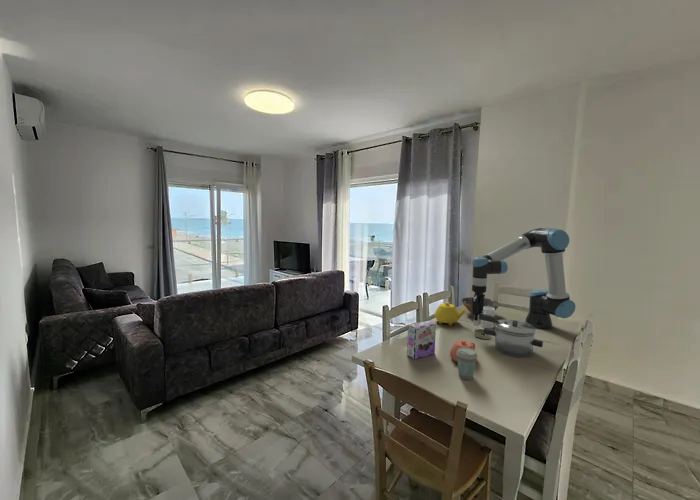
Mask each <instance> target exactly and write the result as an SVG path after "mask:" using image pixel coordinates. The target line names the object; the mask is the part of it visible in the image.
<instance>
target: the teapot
mask: <svg viewBox="0 0 700 500" xmlns="http://www.w3.org/2000/svg"><path fill="white" fill-rule="evenodd" d="M465 313H467V309H464V308H462V310H461V311H460V312H459V311H458V309H457V307H456V306H455V304H452V303H450V302H448V301H445V302H444V303H440V304H439V305H438V306H437V308H436V310H435V312H434V318H435V319H436V320H437V323H438V324H439V325H440V324H441V325H443V323H444V324H448V326H450V327H452V326H453V324H454V323H457V322H458V321H459V319H460V318H461V317H463V315H465Z"/></svg>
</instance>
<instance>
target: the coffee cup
mask: <svg viewBox="0 0 700 500" xmlns="http://www.w3.org/2000/svg"><path fill="white" fill-rule="evenodd" d="M456 354H457V359H458V362H457V369H458V370H457V371H458V377H459V378H461V379H462V380H463V381H464V380H465V381H471V380H473V378H474V372H475V369H476V362H477V359H478V354H477V351H476V349H475V350H473V349H471V348H466V347H462V348H459V349H458V351H457V353H456Z"/></svg>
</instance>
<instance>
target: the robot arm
mask: <svg viewBox="0 0 700 500" xmlns="http://www.w3.org/2000/svg"><path fill="white" fill-rule="evenodd" d="M569 244H570V236H569V233H567V232H566V231H565V230H564V229H560V228H559V229H558V228H545V227H544V228H542V227H539V228H534V229H531V230H529V231H527V232H524V233H523V234H521V235H519V236H517V238H516V239H515V240H512V241H510V242H509V243H506V244H505V245H502V246H501V247H498V248H497V249H495V250H493V251H491V252H489V253H487V254H485V255H482V256H475V257H474V258H473V259H472V260H471V261H472V262H471V263H472V264H471V265H472V277H471V280H472V281H471V282H472V283H471V284H472V285H471V292H473V293H474V294H473V297H474V298H472V302H473V307H472V314H474V318H473V326H476V327H480V325H481V320H480V319H479V313H481V314H482V313H483V312H482V311H483V307H484V298H485V297H486V295H485V294H484V293H486V292H487V283H488V275H501V274H506V273H507V272H508V267H509V265H508V263H507V262H506V261H505V260H506V259H508V258H509V257H511V256H512V257H513V255H516V254H517V253H520V252H521V251H524V250H529V249H532V248H540V249H541V250H540V251H541V254H543V255H544V259H545V260H544V261H545V269H546V279H547V286H548V287H547V288H548V290H544V289H543V290H542V289H536V290H535V289H534V290H532V291H530V295H529V304H528V305H529V309H528V310H529V311H528V313H527V316H526V318H525V321H524V322H526V323H528V324H531V325H533V326H534V327H535V328H536V329H541V330H549V329H553V321H552V318H551V316H555V317H557V318H561V319H568V318H570V317H571V316H572V315H573V314H574V313H575V310H576V306H577V305H576V304H575V302H574V301H573V300H571V297H570V294H569V293H568V292H567V288H566V277H565V269H564V268H565V267H564V257H563V253H564V254H565V252H566V249H567V248H568V247H569Z"/></svg>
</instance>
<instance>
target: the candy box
mask: <svg viewBox="0 0 700 500" xmlns="http://www.w3.org/2000/svg"><path fill="white" fill-rule="evenodd" d="M436 328H437V325H436V323H435V322H432V321H430V320H426V321H421V322H416V323H411V324H408V325H407V342H406V343H407V345H406V347H407V348H406V351H407V352H406V355H407V357H409V356H410V357H409V358H411V359H412V358H413V359H412V360H418V359H421V357H422V358H424V356H426V357H429V356H432V354H433V355H435V353H436V350H435V349H436ZM417 358H418V359H417Z"/></svg>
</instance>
